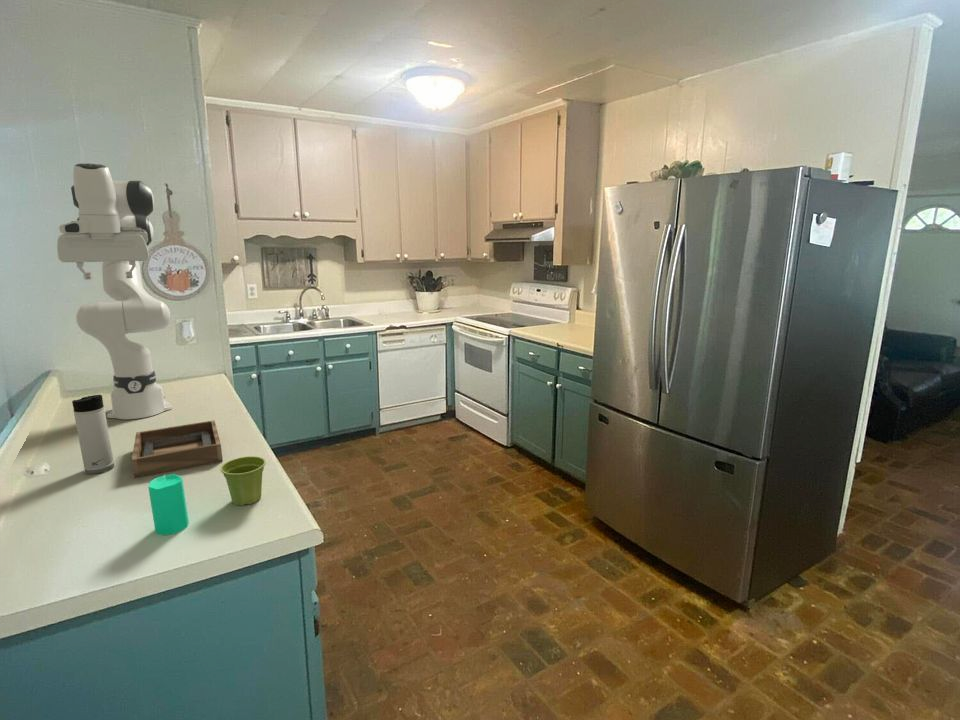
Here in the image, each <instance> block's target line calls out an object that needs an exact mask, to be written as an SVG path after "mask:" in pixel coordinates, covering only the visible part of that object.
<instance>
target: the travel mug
mask: <svg viewBox="0 0 960 720" xmlns="http://www.w3.org/2000/svg"><path fill="white" fill-rule="evenodd" d="M71 402H72V408H73V416H74V420H75V426H76V432H77V435H78V436H77V437H78V442H79V447H80V452H81V459H82V463H83V469H84V473H85V474H88V475H97V474H101V473H106V472H109V471H110V470H112V469H113V468H114V467H115V462H114V456H113V450H112V443H111V440H110V438H111V437H110V433H109V426H108V421H107V414H106V410H105V405H104V400H103V395H102V394H93V395H88V396H83V397H81V398H80V399H79V398H78V399H74V400H72V401H71Z"/></svg>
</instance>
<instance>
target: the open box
mask: <svg viewBox="0 0 960 720" xmlns="http://www.w3.org/2000/svg"><path fill="white" fill-rule="evenodd" d="M204 431H209V435H210V440H211V444H212V445H206V446H203V442H202V441H196V442H190V443H185V444H179V445H173V446H167V447H161V448H155V449H154V455H149V456H144V447H145V441H149V440H155V439H161V438H167V437H173V436H179V435H185V434H192V433H198V432H204ZM219 436H220V435H219V432H218V428H217V423H216V421H215V419H214V420H207V421H201V422H194V423H189V424H188V423H187V424H182V425H175V426H168V427H163V428H155V429H149V430H143V431H138V432H135V437H134V438H135V439H134V444H133V450H132V456H131V463H132V470H133V471H132V472H133V476H134V479H139V478H144V477H149V476H155V475H160V474H164V473H165V474H166V473H170V472H176V471H180V470H181V471H182V470H185V469H186V470H187V469H191V468H196V467H202V466H206V465H212V463H213V464H217V462H218V463H222V462H221V461H223V452H222V451H223V450H222V444H221V441H220V440H221V439H220V437H219ZM143 456H144V457H143ZM223 462H224V461H223Z"/></svg>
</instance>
